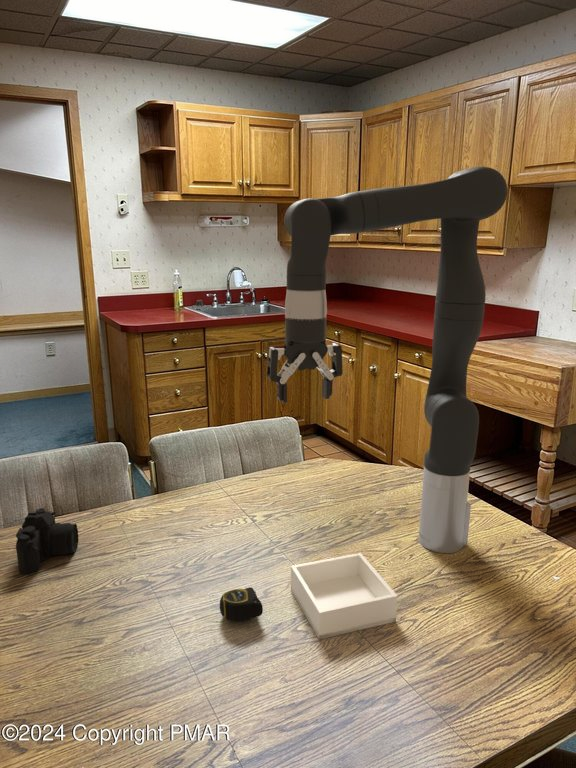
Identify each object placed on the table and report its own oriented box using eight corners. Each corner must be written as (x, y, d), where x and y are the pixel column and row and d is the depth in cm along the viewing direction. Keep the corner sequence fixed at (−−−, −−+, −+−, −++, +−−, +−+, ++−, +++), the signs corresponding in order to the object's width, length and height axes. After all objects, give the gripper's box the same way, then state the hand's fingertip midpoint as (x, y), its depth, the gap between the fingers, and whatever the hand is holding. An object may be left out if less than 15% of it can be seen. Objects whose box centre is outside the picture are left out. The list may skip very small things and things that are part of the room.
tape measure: (264, 622, 94) (263, 600, 94) (223, 629, 93) (221, 607, 93) (256, 604, 101) (255, 583, 101) (218, 611, 99) (216, 590, 99)
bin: (359, 576, 109) (360, 552, 108) (395, 621, 96) (397, 595, 95) (290, 589, 105) (290, 565, 103) (319, 639, 92) (319, 612, 91)
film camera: (66, 575, 109) (61, 533, 107) (13, 578, 108) (7, 535, 106) (84, 535, 124) (80, 497, 121) (38, 537, 123) (33, 499, 120)
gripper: (333, 310, 109) (331, 392, 113) (262, 313, 104) (262, 398, 109) (350, 315, 102) (347, 402, 106) (274, 319, 98) (274, 409, 102)
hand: (304, 400), depth 107 cm, fingers open, 8 cm apart
